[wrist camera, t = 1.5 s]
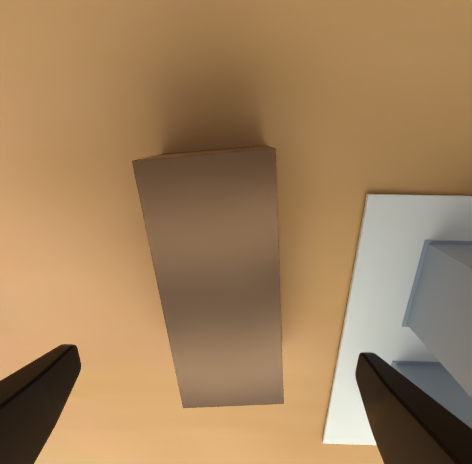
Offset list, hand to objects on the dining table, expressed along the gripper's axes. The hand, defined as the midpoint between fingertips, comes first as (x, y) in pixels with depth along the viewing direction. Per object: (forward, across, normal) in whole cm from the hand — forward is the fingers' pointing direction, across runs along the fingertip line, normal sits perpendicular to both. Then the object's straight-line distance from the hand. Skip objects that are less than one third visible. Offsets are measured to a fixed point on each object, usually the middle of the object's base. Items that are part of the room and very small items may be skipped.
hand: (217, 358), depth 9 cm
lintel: (+7, 0, 0) cm, 7 cm away
